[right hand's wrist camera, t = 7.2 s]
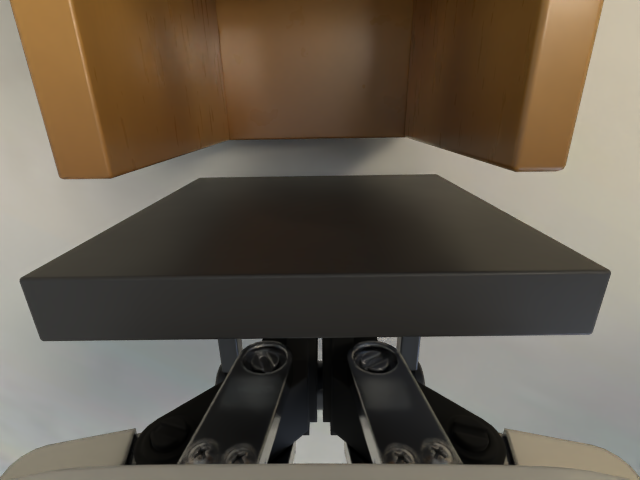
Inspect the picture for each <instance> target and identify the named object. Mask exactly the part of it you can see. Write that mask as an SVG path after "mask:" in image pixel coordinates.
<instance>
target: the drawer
mask: <svg viewBox="0 0 640 480" xmlns="http://www.w3.org/2000/svg"><path fill="white" fill-rule="evenodd" d="M603 2H604V0H10V3H11V7H12V10H13V14H14V18H15V21H16V25H17V28H18V32H19V35H20V39H21V42H22V46H23V50H24V53H25V57H26V60H27V64H28V67H29V71H30V74H31V78H32V82H33V85H34V89H35V92H36V96H37V99H38V103H39V106H40V110H41V114H42V117H43V121H44V124H45V128H46V131H47V135H48V138H49V142H50V146H51V149H52V153H53V156H54V160H55V163H56V167H57V170H58V174H59V177H60V178H62V179H111V178H114V177H117V176H120V175H123V174H126V173H129V172H132V171H135V170H138V169H142V168H145V167H148V166H151V165H154V164H157V163H160V162H163V161H166V160H169V159H172V158H175V157H178V156H181V155H185V154H188V153H191V152H194V151H197V150H200V149H203V148H206V147H209V146H212V145H215V144H218V143H221V142H224V141H228V140H263V139H326V138H390V137H407V138H410V139H413V140H416V141H420V142H423V143H426V144H429V145H432V146H435V147H439V148H442V149H445V150H448V151H451V152H454V153H458V154H461V155H464V156H467V157H470V158H473V159H477V160H480V161H483V162H486V163H489V164H492V165H496V166H499V167H502V168H505V169H508V170H511V171H514V172H542V171H559V170H562V169H564V167H565V165H566V161H567V157H568V153H569V148H570V144H571V140H572V135H573V131H574V127H575V122H576V118H577V114H578V110H579V105H580V101H581V97H582V92H583V88H584V84H585V79H586V75H587V71H588V67H589V62H590V58H591V54H592V49H593V45H594V41H595V36H596V32H597V28H598V24H599V19H600V15H601V11H602V6H603ZM610 275H611V272H610V270H608V269H607V268H605V267H603V266H601V265H599V264H597V263H596V262H594V261H592V260H590V259H588V258H587V257H585V256H583V255H581V254H579V253H578V252H576V251H574V250H572V249H570V248H569V247H567V246H565V245H563V244H561V243H560V242H558V241H556V240H554V239H552V238H551V237H549V236H547V235H545V234H543V233H541V232H540V231H538V230H536V229H534V228H532V227H531V226H529V225H527V224H525V223H523V222H522V221H520V220H518V219H516V218H514V217H513V216H511V215H509V214H507V213H505V212H504V211H502V210H500V209H498V208H496V207H495V206H493V205H491V204H489V203H487V202H486V201H484V200H482V199H480V198H478V197H476V196H475V195H473V194H471V193H469V192H467V191H466V190H464V189H462V188H460V187H458V186H457V185H455V184H453V183H451V182H449V181H448V180H446V179H444V178H442V177H440V176H439V175H437V174H428V175H362V176H296V177H229V178H199V179H197V180H195V181H193V182H191V183H190V184H188V185H186V186H184V187H182V188H181V189H179V190H177V191H175V192H174V193H172V194H170V195H168V196H166V197H165V198H163V199H161V200H159V201H157V202H156V203H154V204H152V205H150V206H148V207H147V208H145V209H143V210H141V211H140V212H138V213H136V214H134V215H132V216H131V217H129V218H127V219H125V220H123V221H122V222H120V223H118V224H116V225H115V226H113V227H111V228H109V229H107V230H106V231H104V232H102V233H100V234H98V235H97V236H95V237H93V238H91V239H89V240H88V241H86V242H84V243H82V244H81V245H79V246H77V247H75V248H73V249H72V250H70V251H68V252H66V253H64V254H63V255H61V256H59V257H57V258H56V259H54V260H52V261H50V262H48V263H47V264H45V265H43V266H41V267H39V268H38V269H36V270H34V271H32V272H30V273H29V274H27V275H25V276H23V277H22V278H20V284H21V287H22V289H23V292H24V295H25V298H26V300H27V303H28V306H29V309H30V312H31V314H32V317H33V320H34V323H35V325H36V328H37V331H38V334H39V337H40V339H41V340H42V341H94V340H178V339H218V343H219V350H220V357H221V365H220V367H219V370H218V373H217V377H216V383H215V386H216V385H217V384H219V383H221V382H222V381H224V380H225V378H226V376H227V374H228V372H229V371H230V369H231V367H232V365H233V364H234V362H235V360H236V358H237V357H238V355H239V354H240V352H241V351H242V350H243V349H242V341H241V339H263V338H348V337H397V350H398V351H399V352H400V354H401V355H402V357H403V358H404V360H405V362H406V364H407V365H408V367H409V369H410V371H411V372H412V374H413V376H414V378H415V380H416V381H418V382H419V383H421V384H423V385H425V381H424V375H423V371H422V368H421V365H420V363H419V362H418V356H419V347H420V337H432V336H517V335H590V334H591V333H592V332H593V329H594V326H595V323H596V320H597V316H598V313H599V310H600V307H601V303H602V300H603V297H604V294H605V291H606V287H607V284H608V281H609V278H610ZM317 410H323V367H322V361H318V369H317Z"/></svg>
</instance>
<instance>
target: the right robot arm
mask: <svg viewBox="0 0 640 480" xmlns="http://www.w3.org/2000/svg"><path fill="white" fill-rule="evenodd" d="M322 367H323V422H330V426H331V435H338V436H339V437H340V438H341V439H343V440H344V452H345V457H346V461H347V464H293V461H294V457H295V452H296V440H297V439H299V438H300V437H301V436H302V435H309V427H310V422H317V369H318V338H263V340H262V341H261V342H256V343H254V344H251V345H249V346H247V347H246V348H245V349H243V350H242V351H241V352H240V354H239V355H238V357H237V358H236V360H235V362H234V364H233V365H232V367H231V369H230V371H229V372H228V374H227V376H226V378H225V380H224V381H222V382H221V383H219V384H217V385H216V386H214V387H212V388H210V389H209V390H207V391H205V392H203V393H202V394H200V395H198V396H196V397H195V398H193V399H191V400H190V401H188V402H186V403H184V404H183V405H181V406H179V407H177V408H176V409H174V410H172V411H171V412H169V413H167V414H165V415H164V416H162V417H160V418H158V419H157V420H155V421H154V422H153V423H151V424H150V425H148V426H147V427H146V429H145V430H144V431H143V432H142V433H138V434H137V432H136V428H134V429H129V430H124V431H119V432H113V433H108V434H103V435H98V436H92V437H87V438H82V439H76V440H71V441H66V442H61V443H55V444H50V445H46V446H43V447H40V448H37V449H35V450H33V451H31V452H29V453H27V454H25V455H23V456H22V457H20V458H19V459H18V460H17V461H15V462H14V463H13V464H12V465H10V466H9V467H8V469H7V470H6V471H5V472H4V473H3V475H2V476H1V477H0V480H640V477H639V476H638V475H637V473H636V472H635V471H634V470H633V469H632V467H631V466H630V465H628V464H627V463H626V462H625V461H623V460H622V459H621V458H620V457H618V456H617V455H615V454H613V453H611V452H609V451H607V450H605V449H603V448H600V447H597V446H594V445H590V444H585V443H579V442H574V441H569V440H564V439H558V438H553V437H548V436H542V435H537V434H532V433H527V432H521V431H516V430H511V429H506V428H504V432H503V434H502V433H498V432H497V431H496V430H495V429H494V427H493V426H492V425H490V424H489V423H487V422H486V421H485V420H483V419H482V418H480V417H478V416H476V415H475V414H473V413H471V412H469V411H468V410H466V409H464V408H463V407H461V406H459V405H457V404H456V403H454V402H452V401H450V400H449V399H447V398H445V397H444V396H442V395H440V394H438V393H437V392H435V391H433V390H431V389H430V388H428V387H426V386H425V385H423V384H421V383H419V382H418V381H416V380H415V378H414V376H413V374H412V372H411V371H410V369H409V367H408V365H407V364H406V362H405V360H404V358H403V357H402V355H401V354H400V352H399V351H398V350H397V349H395V348H394V347H393V346H391V345H389V344H386V343H384V342H379V341H378V340H377V337H348V338H322Z"/></svg>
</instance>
